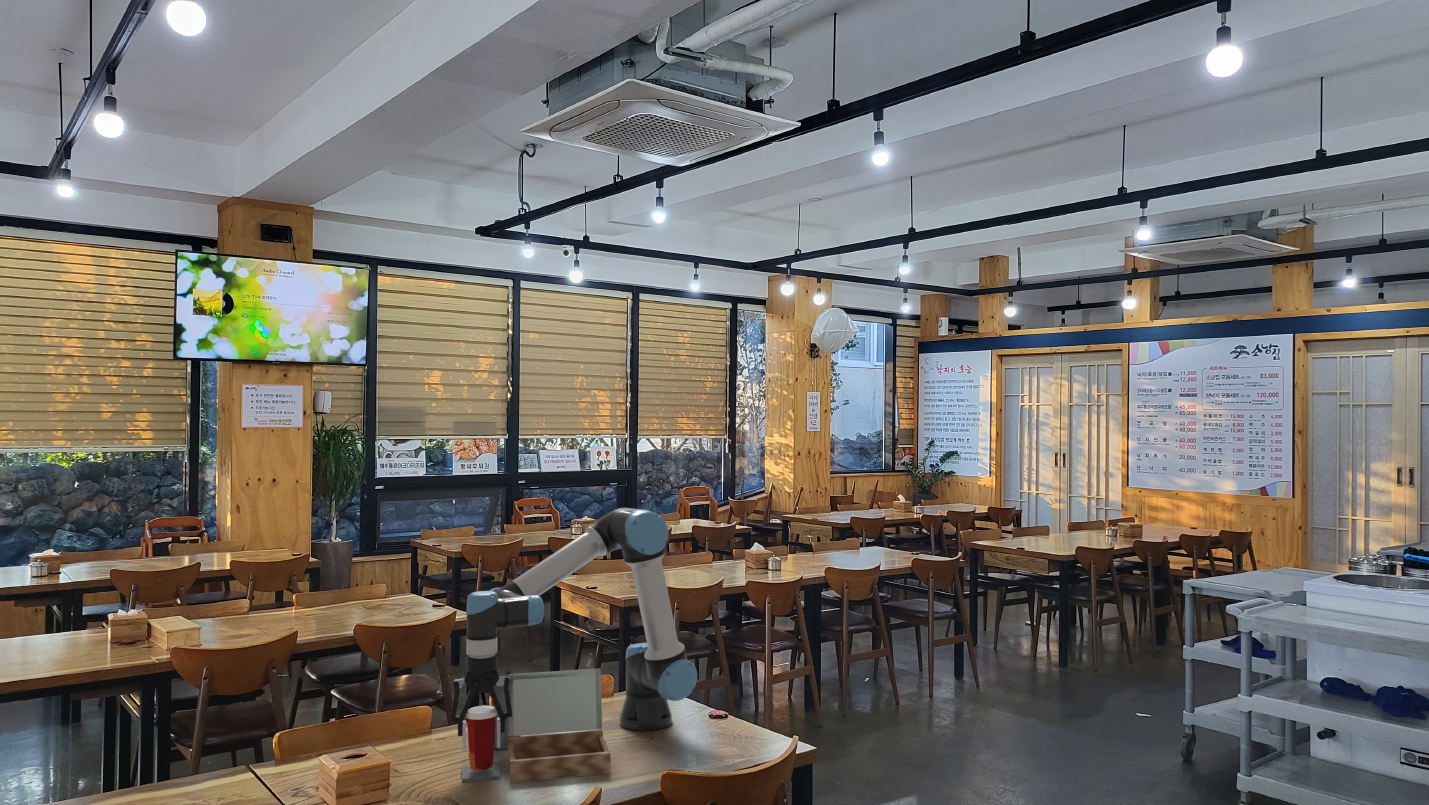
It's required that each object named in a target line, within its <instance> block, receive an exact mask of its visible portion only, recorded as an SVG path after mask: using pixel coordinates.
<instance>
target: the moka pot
mask: <svg viewBox="0 0 1429 805" xmlns="http://www.w3.org/2000/svg"><path fill="white" fill-rule="evenodd" d="M508 674H512V671H510V670H507V671H505V676H506V675H508ZM493 688H494V690H495V693H496V695H497V697H498V700H499V702H500V704H501V707H502V709H503V711H504V712H506V711H507V708H506V702H505V695H504V688H503V685H501V682H500V681H499V680H498V682H497V683H496V684H495V686H494V687H493ZM479 694H480V698H481V700H482V706H488V704H487V699H486V693H479ZM491 706H493V707H495V705H494V703H493V701H492V700H491ZM495 709H496V708H495ZM496 712H497V710H496ZM497 718H500V717H499V715H498V712H497V715H496V726H495V744H494V750H495V749H496V750H505V751H506V750H508V718H506V719H505V732H504V733H500V748H497ZM512 737H522V735H520V736H512Z"/></svg>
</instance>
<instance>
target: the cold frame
mask: <svg viewBox="0 0 1429 805" xmlns="http://www.w3.org/2000/svg"><path fill="white" fill-rule="evenodd" d="M603 732H604V731H603V730H602V729H595V730H583V731H571V732H558V733H546V734H534V735H521V737H510V738H508V749H507V767H508V775H509V776H508V777H509V783H510V784H512V783H521V782H532V781H543V780H552V779H553V780H554V779H563V778H564V779H565V778H574V777H576V778H577V777H586V776H596V775H606V774H607V775H609V774H611V752H610V749H609V745H608V744H607V741H606V740H605V737H604V734H603Z"/></svg>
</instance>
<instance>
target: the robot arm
mask: <svg viewBox="0 0 1429 805" xmlns="http://www.w3.org/2000/svg"><path fill="white" fill-rule="evenodd" d="M668 539H669V529H668V525H667V523H666V521H665V520H664V519H663V517H662V516H661V515H660V514H658V513H657V512H654V511H651V510H649V509H642V508H632V507H620V508H617V509H614V510H612V511H610V512H608V513H606V514H605V515H603V516H602V517H600V518H598V519H597V520H595V521H594V522H592V523H591V524H590V525H588V526H586V527H585V531H584V533H582V534H581V535H579V536H578V537H576V538H575V539H572V541H569V543H567V544H566V545H564V546H562V548H559V549H558V550H557V551H555V552H553V554H551V555H549V556H548V557H546V558H545V559H543V560H542V561H540V562H538V564H535V565H534V566H533V567H531V568H530V569H528V570H526V571H525V572H524V573H522V574H520V575H519V576H518V577H516V578H515V579H513V580H512V581H510V582H509V583H506V584H505V585H504V586H502V587H501V586H500V587H494V588H492V589H491V588H490V590H484V591H483V590H481V591H472V592H471V593H469V594H468V596H467V599H466V600H467V602H466V611H465V613H466V639H465V640H466V642H465V643H466V648H465V649H466V651H465V652H466V655H467V657H465V659H466V662H465V664H466V666H465V667H466V670H465V675H464V677H463V678H459V679H458V678H455V679H454V680H453V688H454V693H453V700H452V706H451V713H450V718H449V719H450V720H449V721H450V722H455V723H456V724H457V736H458V737H462V751H463V752H464V751H465V752H466V750H467V749H466V748H467V746H466V745H467V720H465V718H466V714H467V711H468V710H469V709H470V708H469V707H470V705H471V703H472V701H473V699H474V697H475V695H476V694H477V695H479V694H480V693H485V694H489V696H490V699H491V702H492V701H493V703H494V705H495V708H496V710H497V712H498V715H499V717H500V718H497V748H500V733H504V732H505V719H506V718H508V717H511V716H512V708H511V701H510V695H509V688H508V686H509V681H510V678H509V676H508V675H506V674H505V675H500V674H499V672H498V655H497V653H498V636H499V635H498V630H500V629H502V630H503V629H506V628H507V629H508V628H509V629H510V628H517V627H520V628H521V627H527V626H528V627H530V626H533V625H534V626H535V625H539V624H540V623H542V622H543V620H544V616H545V604H544V600H543V599H542V597H541V595H543V594H544V593H546V592H547V591H549V590H550V589H551V588H553V587H554V586H556V585H557V584H559V583H560V582H562V581H563V580H565V579H566V578H568V577H569V576H571V575H572V574H574V573H575V572H576V571H578V570H579V569H581V568H583V567H584V566H585V565H587V564H588V563H590V562H592V561H593V560H594V559H596V558H598V557H599V556H602V557H605V556H607V555H608V554H610V553H611V552H613V551H617V550H621V552H622V556H623V560H624V564H627V565H628V567H630V568H631V572H632V578H633V581H634V587H635V588H634V589H635V591H636V596H637V601H638V605H639V611H640V616H641V619H642V626H643V628H644V629H643V630H644V634H645V640H646V642H639V643H633V644H630V645H628V647H627V648H626V649H625V650H626V651H625V698H624V701H623V702H624V703H623V705H622V707H621V712H620V715H619V725H620V726H621V727H622V728H624V729H627V730H632V731H644V732H645V731H656V730H660V729H661V730H662V729H664V728H666V727H669V726H671V724H672V722H673V721H672V720H673V719H672V718H673V717H672V716H673V715H672V712H671V708H670V706H669V701H672V702H677V701H678V702H679V701H681V700H684V699H685V698H687V697H688V696H690V695H691V693H692V692H693V689H694V688H695V687H696V684H697V682H698V671H697V668H696V665H694V663H693V662H692V661H691V660H690V659H688V655H687V653H686V652H687V651H686V648H685V647H686V646H685V644H683V643H682V642H681V641H679V639H678V635H677V631H676V630H677V629H676V626H675V619H674V615H673V611H672V610H673V609H672V604H671V601H670V600H671V599H670V596H669V591H668V586H667V580H666V576H665V571H664V567H663V562H662V560H663V558H664V557H665V555H666V550H665V547H666V543H667V541H668ZM498 680H499V681H500V682H501V685H503V688H504V695H505V702H506V708H507V711H506V712H504V711H503V709H502V707H501V704H500V702H499V700H498V697H497V695H496V693H495V690H494V688H493V687H494V686H495V684H496V683H497V682H498ZM464 684H466V686H467V687H468V689H469V690H468V693H467V696H466V698H465V699H464V700H465V701H464V703H463V704H462V705H463V706H462V708H461V710H460V713H459V715H457V712H458V704H459V698H460V693H461V691H460V690H461V689H462V688H463V687H464V686H463V685H464Z"/></svg>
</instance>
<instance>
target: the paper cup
mask: <svg viewBox="0 0 1429 805" xmlns="http://www.w3.org/2000/svg"><path fill="white" fill-rule="evenodd" d="M496 715H497V712H496V709H495V707H493V706H492V705H487V706H483V705H478V706H473V707H471V708H468V710H467V713H466V715H465V718H466V728H467V740H468V741H467V742H468V759H469V766H470V768H471V769H473V770H486V769H489V768H491V767H492V766H493V764H494V758H495V757H494V756H495V748H494V744H495V726H496Z"/></svg>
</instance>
